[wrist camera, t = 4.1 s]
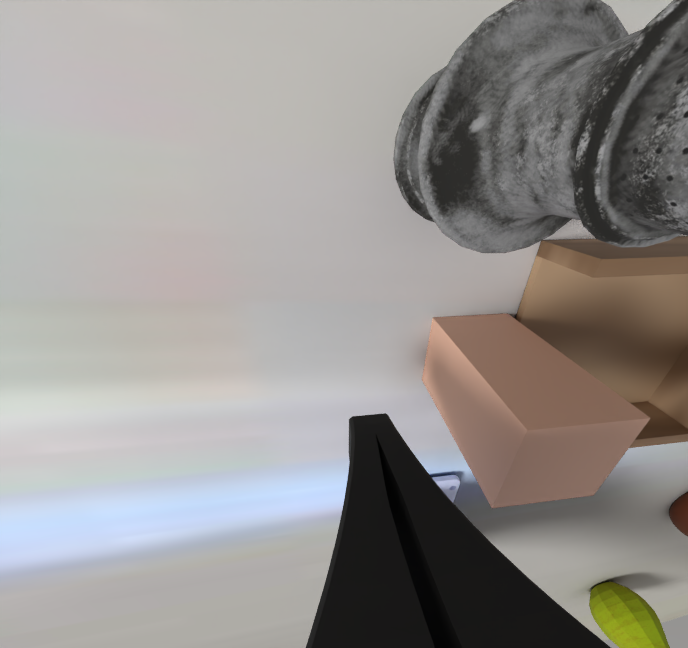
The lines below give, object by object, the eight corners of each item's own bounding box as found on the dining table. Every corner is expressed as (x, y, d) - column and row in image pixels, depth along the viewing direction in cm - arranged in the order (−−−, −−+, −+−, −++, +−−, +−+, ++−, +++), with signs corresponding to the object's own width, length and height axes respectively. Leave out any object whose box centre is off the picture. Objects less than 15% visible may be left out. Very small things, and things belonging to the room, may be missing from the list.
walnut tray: (645, 403, 20) (697, 440, 17) (481, 419, 18) (510, 461, 16) (764, 234, 14) (868, 250, 11) (541, 240, 13) (601, 259, 10)
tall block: (488, 374, 17) (593, 495, 10) (421, 379, 16) (491, 508, 10) (507, 313, 15) (650, 418, 9) (432, 317, 14) (527, 430, 8)
